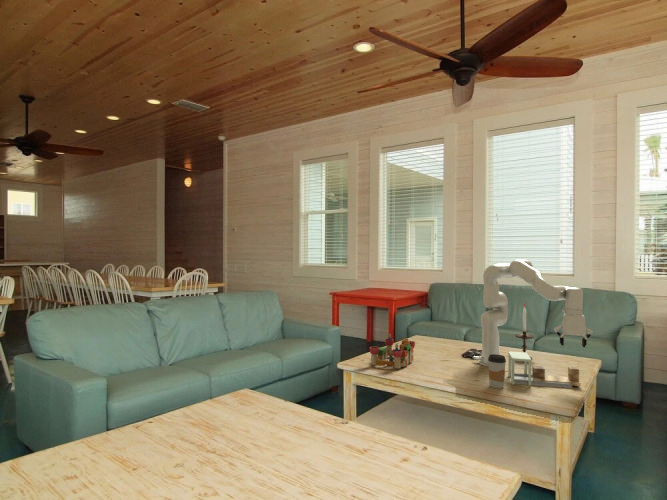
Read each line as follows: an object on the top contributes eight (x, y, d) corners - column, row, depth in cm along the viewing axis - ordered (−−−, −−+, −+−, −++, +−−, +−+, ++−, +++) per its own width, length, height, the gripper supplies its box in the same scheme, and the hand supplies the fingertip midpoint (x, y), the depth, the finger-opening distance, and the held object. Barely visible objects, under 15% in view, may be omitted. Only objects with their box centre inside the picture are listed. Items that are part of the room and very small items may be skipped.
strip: (535, 382, 214) (535, 367, 214) (532, 376, 224) (532, 362, 224) (580, 386, 209) (580, 371, 209) (575, 380, 218) (575, 365, 218)
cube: (533, 378, 217) (534, 368, 217) (532, 375, 222) (532, 365, 222) (544, 379, 215) (544, 369, 215) (542, 376, 220) (542, 366, 220)
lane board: (514, 383, 216) (514, 379, 216) (511, 376, 228) (511, 372, 228) (572, 388, 209) (572, 384, 209) (566, 381, 220) (566, 377, 220)
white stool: (511, 384, 215) (511, 358, 215) (508, 375, 229) (508, 351, 229) (531, 386, 213) (531, 359, 213) (526, 377, 227) (526, 352, 227)
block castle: (386, 354, 276) (386, 332, 276) (417, 358, 267) (417, 335, 266) (367, 365, 249) (368, 341, 249) (401, 370, 240) (401, 344, 240)
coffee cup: (496, 390, 206) (496, 359, 206) (484, 384, 214) (484, 355, 214) (509, 387, 210) (509, 357, 210) (496, 382, 217) (497, 353, 217)
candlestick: (534, 361, 259) (535, 303, 258) (515, 359, 262) (515, 302, 262) (532, 357, 269) (533, 301, 269) (514, 355, 272) (514, 300, 272)
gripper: (556, 312, 214) (555, 346, 215) (595, 314, 209) (594, 349, 210) (553, 309, 222) (552, 342, 222) (591, 312, 216) (590, 345, 217)
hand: (572, 345), depth 216 cm, fingers open, 9 cm apart
